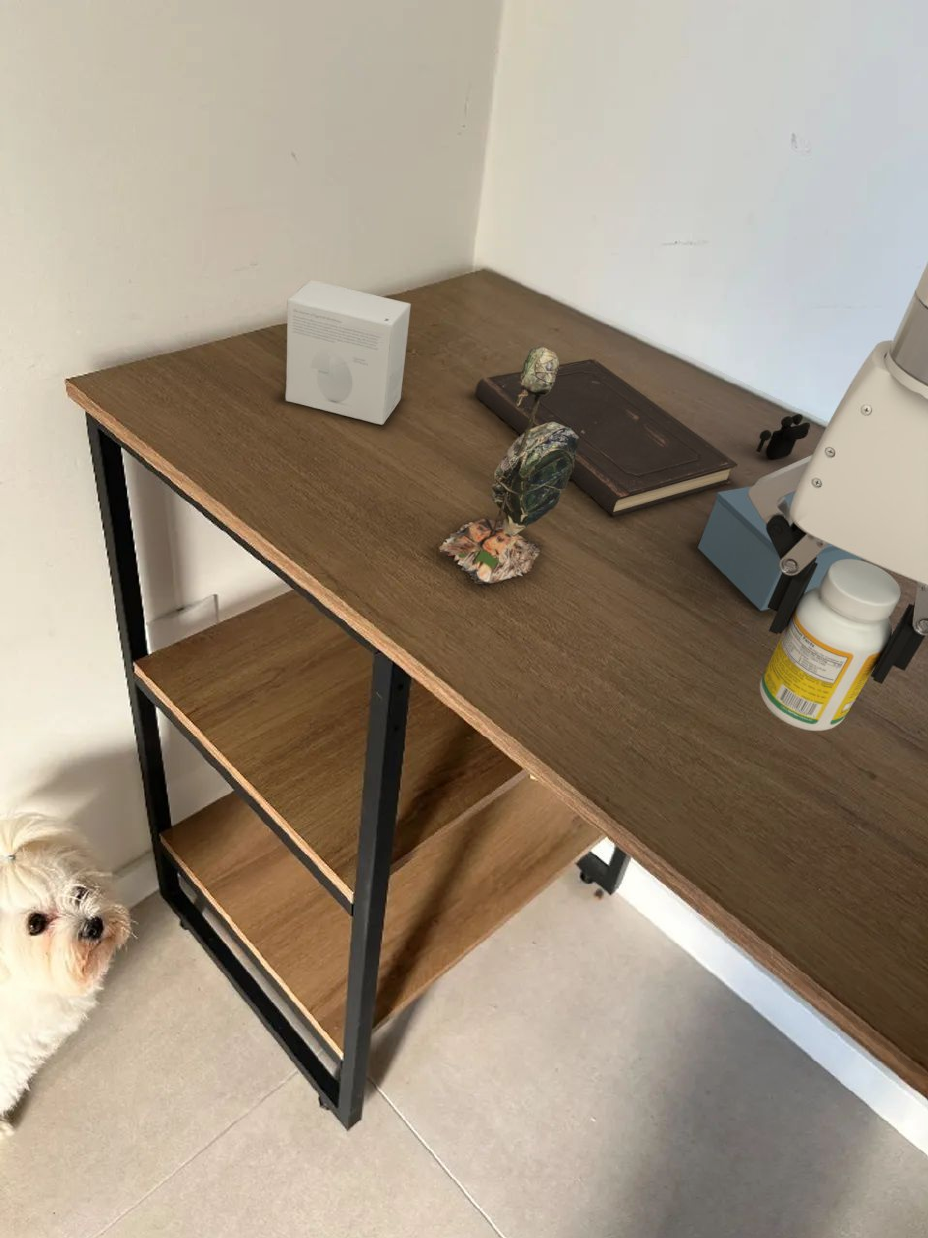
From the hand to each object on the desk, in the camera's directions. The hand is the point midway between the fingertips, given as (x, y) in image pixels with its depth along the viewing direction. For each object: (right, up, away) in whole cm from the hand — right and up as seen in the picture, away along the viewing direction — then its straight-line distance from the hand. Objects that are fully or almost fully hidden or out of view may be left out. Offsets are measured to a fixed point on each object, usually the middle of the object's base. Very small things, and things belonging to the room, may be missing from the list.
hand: (831, 642), depth 54 cm
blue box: (+6, +6, +29) cm, 30 cm away
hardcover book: (-7, +20, +42) cm, 47 cm away
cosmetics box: (-34, +23, +41) cm, 58 cm away
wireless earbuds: (+12, +18, +45) cm, 50 cm away
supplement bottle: (-1, -4, +3) cm, 5 cm away
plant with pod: (-18, +7, +26) cm, 32 cm away
